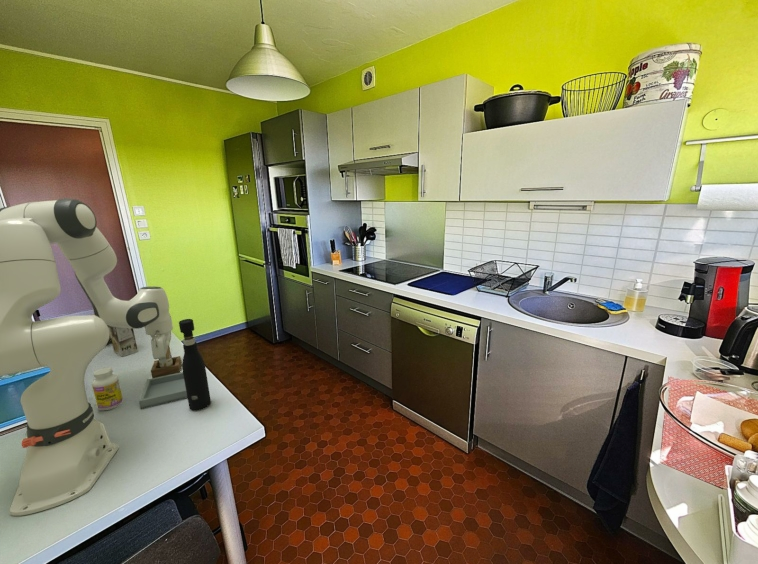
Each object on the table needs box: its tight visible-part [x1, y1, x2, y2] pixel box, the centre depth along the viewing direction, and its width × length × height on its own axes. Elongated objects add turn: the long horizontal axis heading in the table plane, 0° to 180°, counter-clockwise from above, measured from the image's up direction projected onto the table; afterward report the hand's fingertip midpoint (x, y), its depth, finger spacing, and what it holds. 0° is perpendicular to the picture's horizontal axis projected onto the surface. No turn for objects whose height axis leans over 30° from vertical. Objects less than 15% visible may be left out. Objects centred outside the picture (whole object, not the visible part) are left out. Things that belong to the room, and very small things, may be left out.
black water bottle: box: [178, 318, 212, 412], centre depth 104 cm, size 6×6×30 cm
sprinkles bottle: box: [158, 340, 173, 368], centre depth 127 cm, size 5×5×14 cm
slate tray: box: [138, 371, 188, 410], centre depth 115 cm, size 15×15×3 cm
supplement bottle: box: [91, 366, 124, 411], centre depth 107 cm, size 7×7×13 cm
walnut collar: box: [150, 355, 183, 379], centre depth 128 cm, size 9×9×4 cm
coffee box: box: [108, 327, 139, 357], centre depth 145 cm, size 9×6×16 cm
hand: (165, 359), depth 127 cm, fingers closed on sprinkles bottle, 4 cm apart
